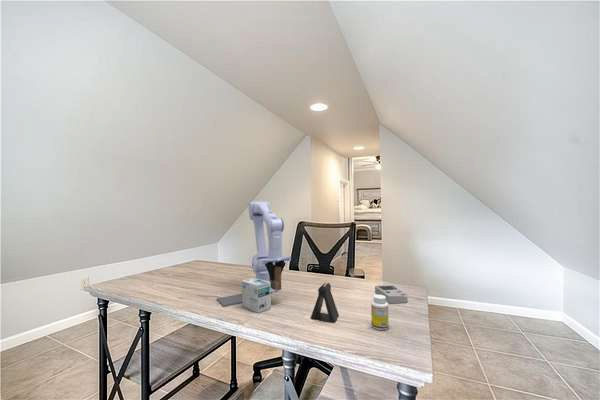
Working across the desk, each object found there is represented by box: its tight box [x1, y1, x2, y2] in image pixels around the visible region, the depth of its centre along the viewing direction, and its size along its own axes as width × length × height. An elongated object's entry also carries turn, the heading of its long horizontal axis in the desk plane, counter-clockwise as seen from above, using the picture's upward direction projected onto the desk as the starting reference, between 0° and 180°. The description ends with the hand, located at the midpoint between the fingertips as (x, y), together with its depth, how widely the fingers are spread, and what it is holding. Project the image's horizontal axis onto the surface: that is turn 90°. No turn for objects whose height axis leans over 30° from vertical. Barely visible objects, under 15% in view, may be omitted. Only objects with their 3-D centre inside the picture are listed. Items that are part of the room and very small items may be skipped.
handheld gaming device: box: [374, 284, 408, 304], centre depth 118 cm, size 9×15×4 cm, turn 6°
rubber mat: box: [216, 293, 242, 308], centre depth 115 cm, size 12×10×1 cm
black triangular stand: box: [310, 282, 339, 324], centre depth 97 cm, size 9×6×12 cm, turn 67°
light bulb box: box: [241, 277, 272, 314], centre depth 107 cm, size 11×7×11 cm, turn 48°
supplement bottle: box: [370, 294, 390, 331], centre depth 89 cm, size 6×6×10 cm
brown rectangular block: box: [269, 264, 282, 291], centre depth 112 cm, size 2×6×9 cm, turn 33°
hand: (275, 279), depth 112 cm, fingers closed on brown rectangular block, 2 cm apart
